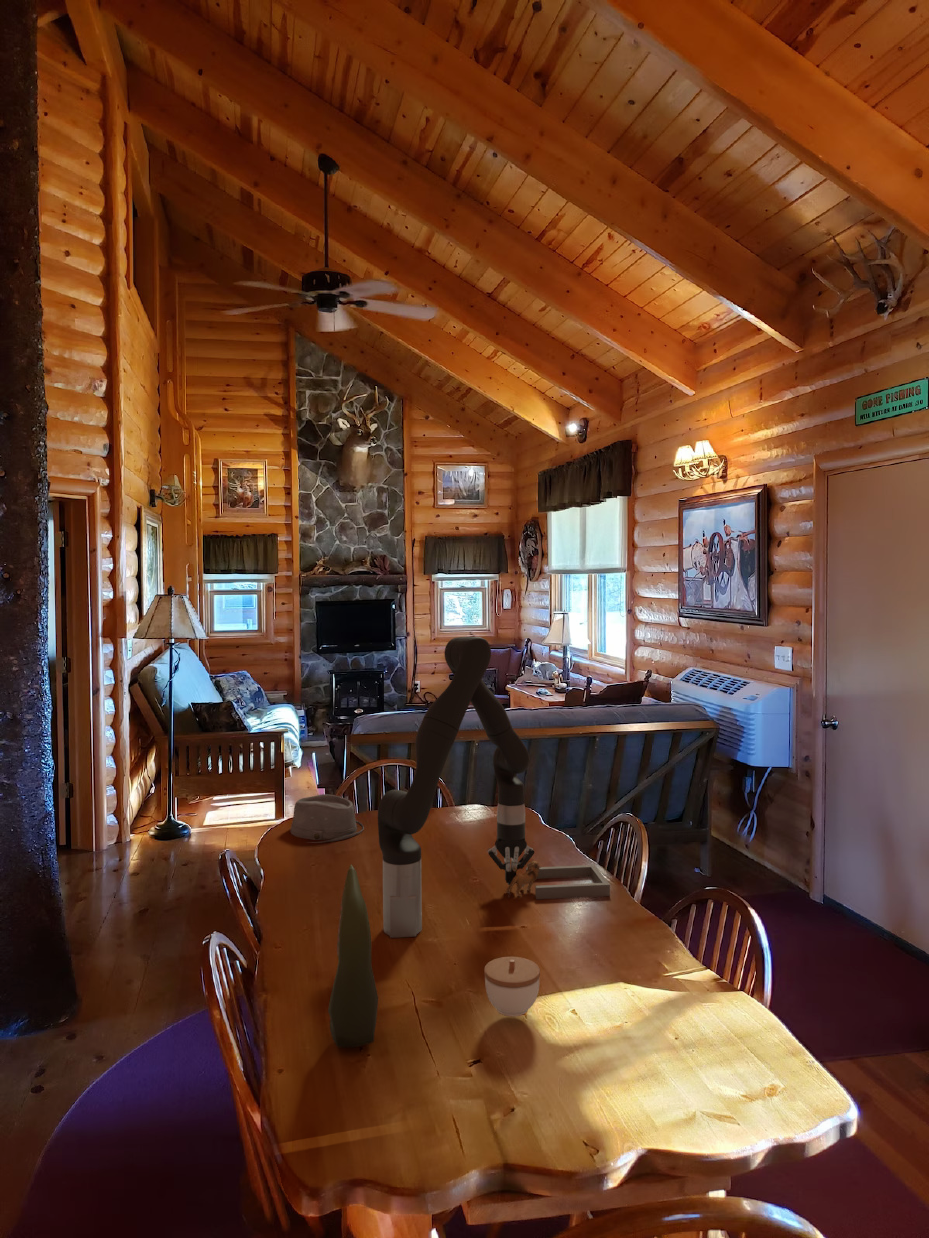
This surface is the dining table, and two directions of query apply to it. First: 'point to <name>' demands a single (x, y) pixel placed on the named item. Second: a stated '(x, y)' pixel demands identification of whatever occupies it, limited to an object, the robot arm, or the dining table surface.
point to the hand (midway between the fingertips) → (510, 883)
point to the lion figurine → (525, 878)
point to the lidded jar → (512, 984)
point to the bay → (572, 890)
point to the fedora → (324, 818)
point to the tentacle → (353, 972)
